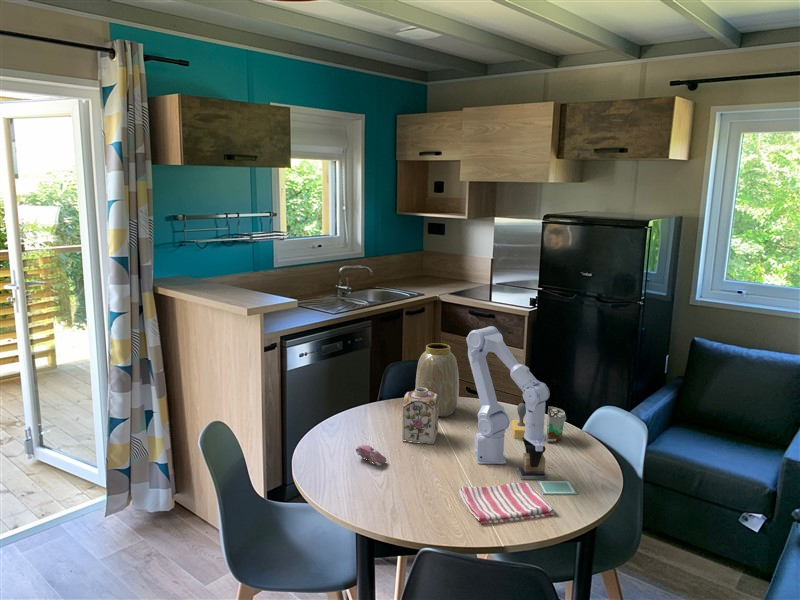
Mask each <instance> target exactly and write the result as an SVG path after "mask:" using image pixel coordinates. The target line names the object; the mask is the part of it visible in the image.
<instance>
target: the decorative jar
mask: <svg viewBox="0 0 800 600" xmlns="http://www.w3.org/2000/svg"><path fill="white" fill-rule="evenodd" d="M438 401H439V398H438V395H437V394H435V393H433V392H430V391H428V389H426V388H416V387H415V389H414V390H411V391H407V392H406V393H405V394H404V397H403V402H402V421H401V422H402V423H401V425H402V427H401V429H402V430H401V432H402V435H401V436H402V437H401V438H402V440H406V441H412V442H420V443H419V444H422V443H427V444H426V445H434V444H435V442H436V439H437V435H438V432H439V417H438ZM412 442H411V443H412Z"/></svg>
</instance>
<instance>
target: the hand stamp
mask: <svg viewBox="0 0 800 600" xmlns="http://www.w3.org/2000/svg"><path fill="white" fill-rule="evenodd" d="M522 467H523V470H524V472H525V474H545V473H546V472H545V471H546V457H545V455H544V453H543V454H542V456H541V459H540V462H539V465H538V467H531V465H530V457H529V453H526V452H523V454H522Z"/></svg>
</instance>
